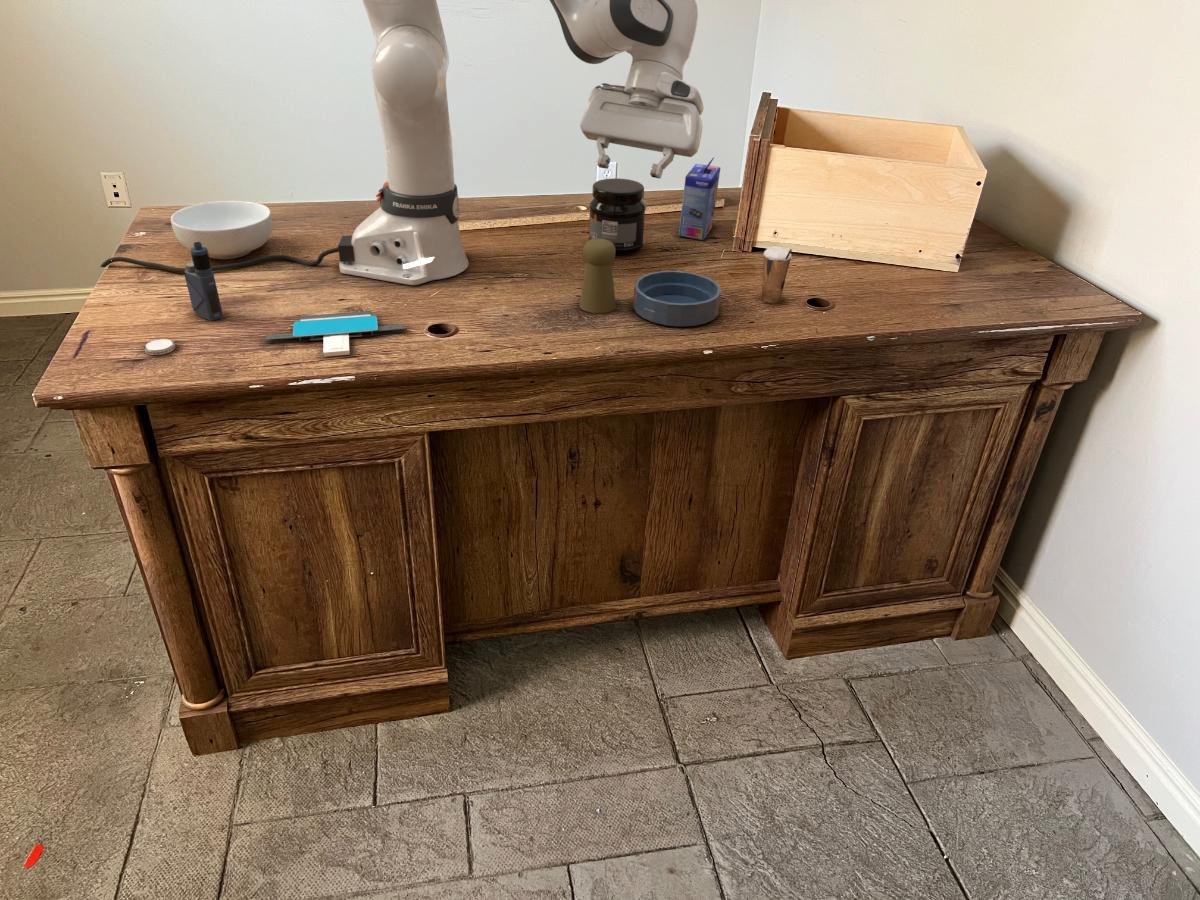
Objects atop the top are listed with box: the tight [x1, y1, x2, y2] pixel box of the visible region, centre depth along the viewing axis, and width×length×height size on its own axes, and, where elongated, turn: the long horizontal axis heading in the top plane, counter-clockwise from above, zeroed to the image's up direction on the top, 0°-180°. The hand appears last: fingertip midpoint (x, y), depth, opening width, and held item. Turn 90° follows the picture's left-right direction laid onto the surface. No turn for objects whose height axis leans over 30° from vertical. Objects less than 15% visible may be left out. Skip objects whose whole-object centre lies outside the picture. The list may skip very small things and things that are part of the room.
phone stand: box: [265, 310, 405, 358], centre depth 128 cm, size 20×12×2 cm, turn 105°
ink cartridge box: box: [678, 157, 721, 241], centre depth 169 cm, size 10×6×14 cm, turn 163°
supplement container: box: [588, 177, 647, 258], centre depth 161 cm, size 10×10×12 cm
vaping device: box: [184, 242, 224, 322], centre depth 130 cm, size 3×5×12 cm, turn 58°
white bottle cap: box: [143, 338, 176, 356], centre depth 124 cm, size 4×4×1 cm
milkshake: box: [761, 245, 793, 304], centre depth 143 cm, size 5×5×10 cm
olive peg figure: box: [579, 239, 616, 314], centre depth 139 cm, size 6×6×11 cm
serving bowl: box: [632, 270, 722, 328], centre depth 140 cm, size 14×14×4 cm
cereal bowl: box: [170, 200, 273, 260], centre depth 154 cm, size 17×17×7 cm
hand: (628, 171), depth 142 cm, fingers open, 8 cm apart
